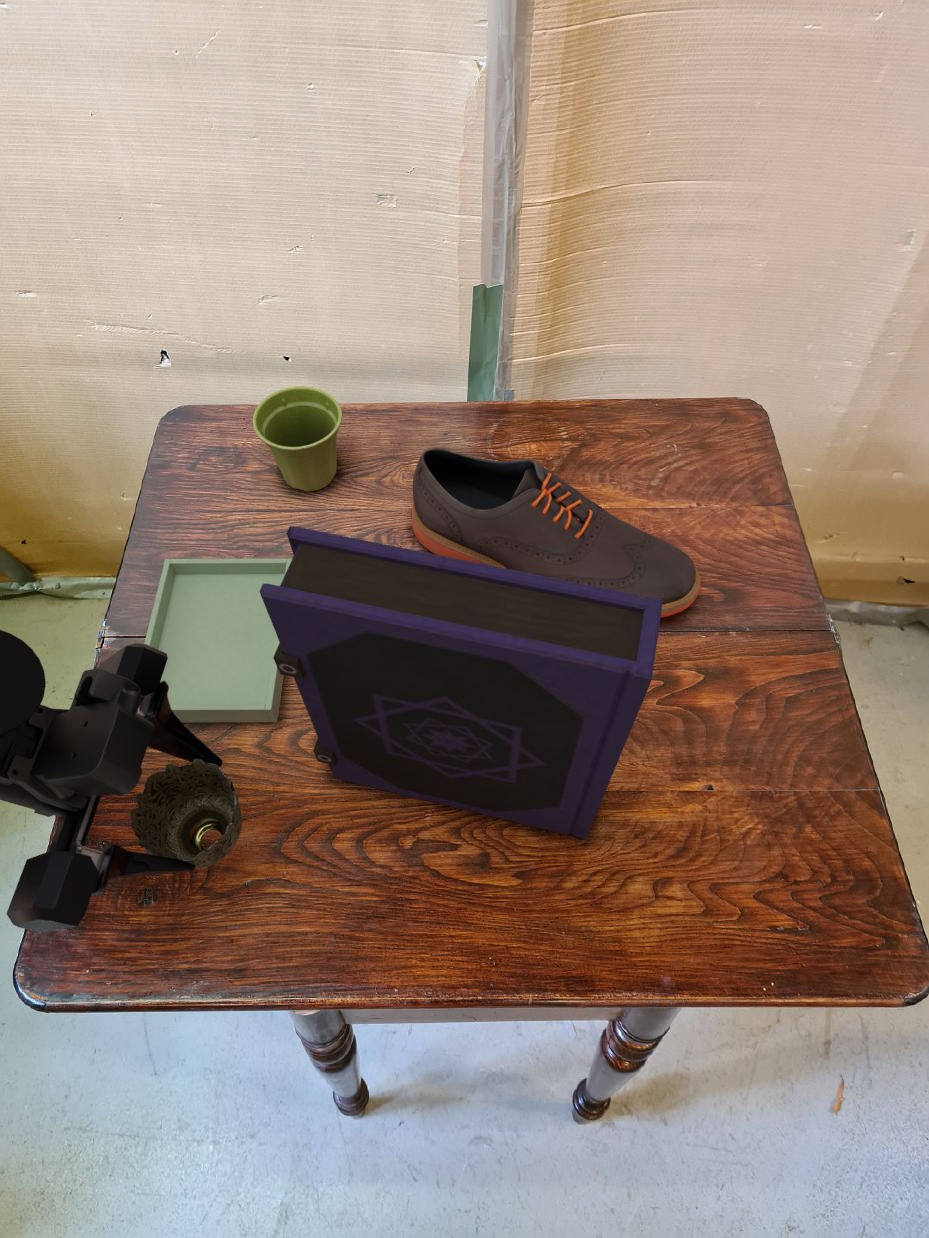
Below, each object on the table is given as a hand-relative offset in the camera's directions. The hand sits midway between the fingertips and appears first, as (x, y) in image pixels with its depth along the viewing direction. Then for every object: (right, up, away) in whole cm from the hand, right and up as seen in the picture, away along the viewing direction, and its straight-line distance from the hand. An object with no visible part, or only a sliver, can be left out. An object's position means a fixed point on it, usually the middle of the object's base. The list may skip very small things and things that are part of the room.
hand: (206, 815), depth 58 cm
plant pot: (+1, +31, +34) cm, 46 cm away
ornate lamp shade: (-1, -4, +6) cm, 7 cm away
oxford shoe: (+27, +20, +27) cm, 43 cm away
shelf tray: (-6, +12, +22) cm, 25 cm away
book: (+18, 0, +14) cm, 23 cm away
